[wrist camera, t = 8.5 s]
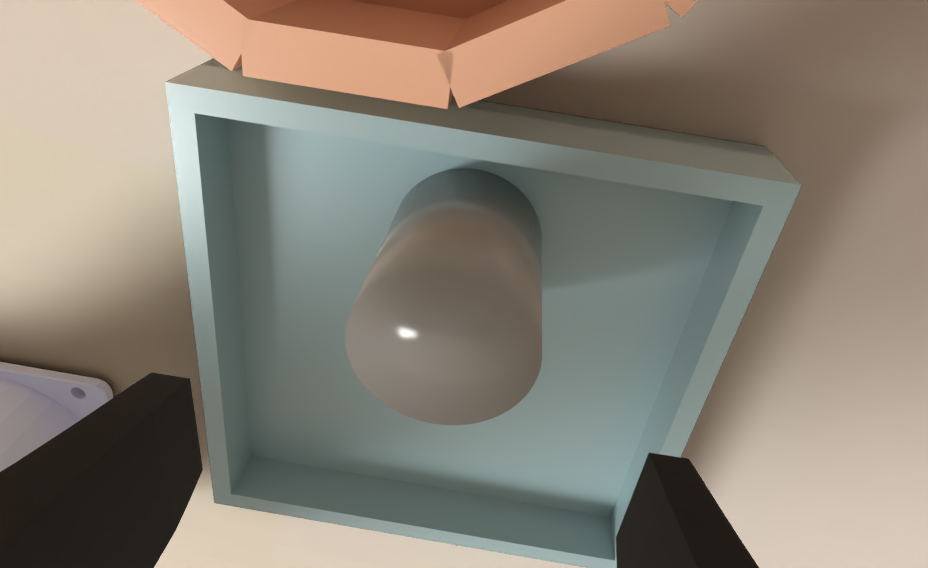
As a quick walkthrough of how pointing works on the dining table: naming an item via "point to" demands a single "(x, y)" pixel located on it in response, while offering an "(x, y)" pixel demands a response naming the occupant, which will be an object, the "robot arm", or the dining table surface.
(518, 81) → the terracotta bowl
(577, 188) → the parts tray
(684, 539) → the robot arm
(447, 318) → the slate pebble
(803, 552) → the dining table surface
